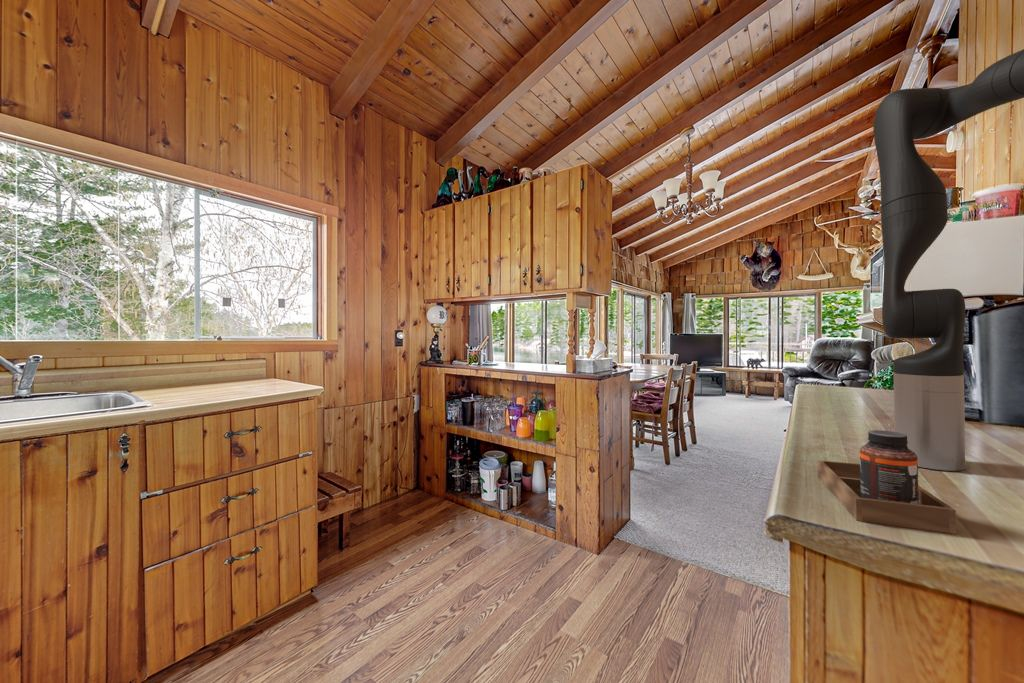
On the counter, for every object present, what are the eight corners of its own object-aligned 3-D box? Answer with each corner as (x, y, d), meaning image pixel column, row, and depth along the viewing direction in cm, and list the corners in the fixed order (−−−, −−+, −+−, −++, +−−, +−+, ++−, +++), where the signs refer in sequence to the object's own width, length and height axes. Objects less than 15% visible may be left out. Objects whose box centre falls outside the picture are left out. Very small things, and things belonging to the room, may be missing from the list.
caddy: (817, 476, 69) (817, 460, 69) (890, 484, 65) (889, 466, 65) (856, 520, 53) (856, 498, 53) (955, 533, 49) (955, 510, 49)
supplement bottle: (932, 523, 52) (930, 438, 52) (879, 520, 53) (878, 437, 53) (897, 504, 58) (896, 428, 57) (851, 502, 59) (849, 427, 59)
